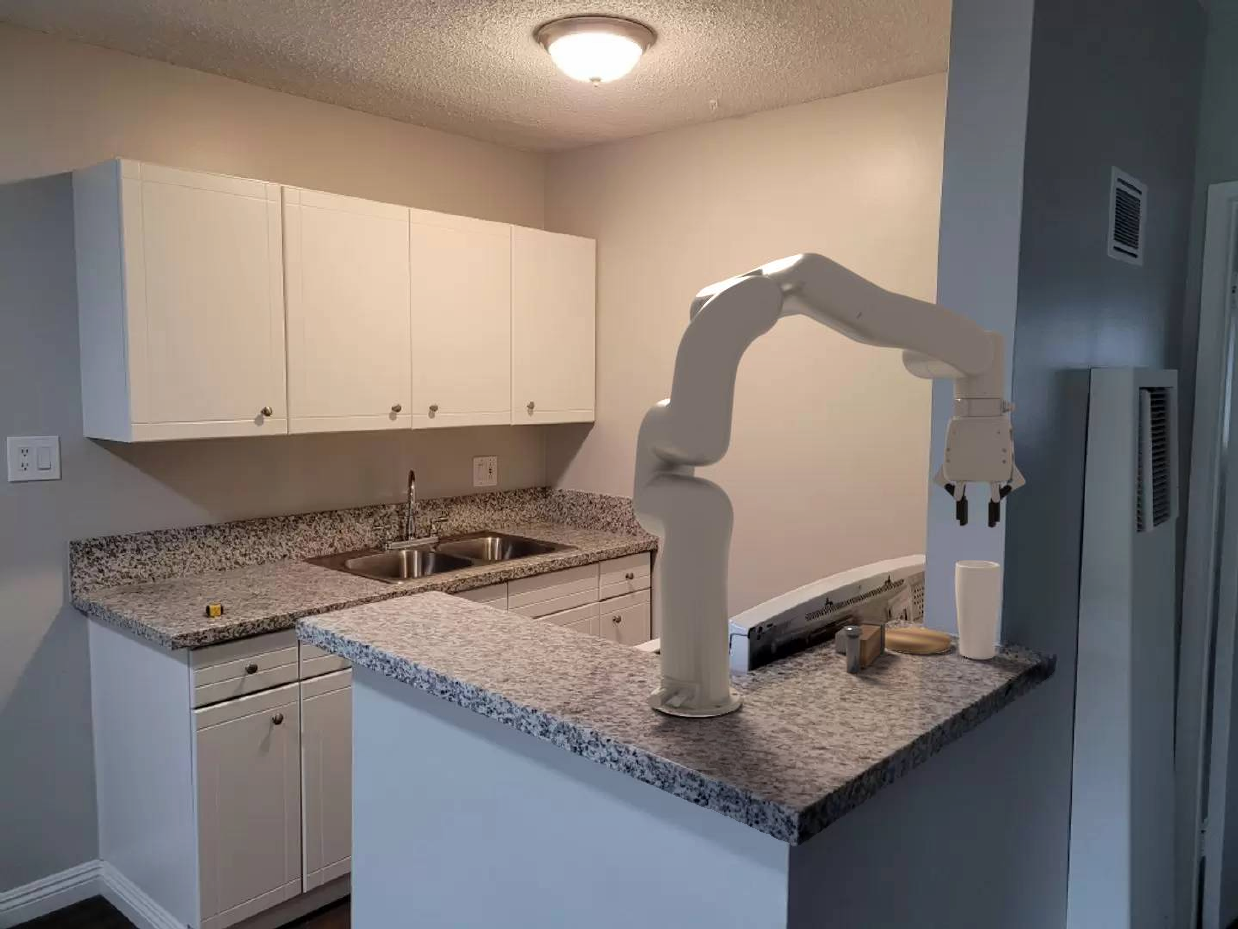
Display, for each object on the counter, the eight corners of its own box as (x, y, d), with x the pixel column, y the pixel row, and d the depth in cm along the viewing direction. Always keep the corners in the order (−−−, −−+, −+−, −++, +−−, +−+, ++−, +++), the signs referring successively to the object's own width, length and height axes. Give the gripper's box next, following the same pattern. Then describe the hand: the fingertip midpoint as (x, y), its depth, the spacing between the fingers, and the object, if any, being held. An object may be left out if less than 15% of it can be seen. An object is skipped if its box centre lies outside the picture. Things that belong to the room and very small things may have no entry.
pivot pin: (859, 675, 135) (859, 631, 135) (841, 672, 137) (841, 629, 136) (864, 670, 137) (864, 627, 137) (847, 667, 139) (846, 624, 138)
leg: (885, 649, 148) (885, 622, 147) (867, 668, 138) (867, 639, 138) (864, 647, 149) (864, 620, 149) (845, 665, 140) (845, 636, 139)
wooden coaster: (943, 657, 143) (943, 648, 143) (874, 649, 149) (874, 640, 149) (956, 641, 152) (956, 632, 152) (891, 633, 158) (891, 625, 158)
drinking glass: (992, 650, 147) (992, 559, 146) (1005, 662, 140) (1006, 567, 139) (949, 650, 147) (950, 560, 146) (961, 662, 141) (961, 568, 140)
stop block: (849, 653, 146) (849, 635, 146) (835, 651, 148) (835, 634, 147) (856, 647, 150) (856, 630, 150) (842, 645, 151) (842, 628, 151)
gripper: (1039, 409, 140) (1038, 525, 141) (929, 410, 148) (929, 520, 150) (1033, 410, 133) (1032, 532, 135) (918, 411, 142) (918, 526, 143)
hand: (977, 524), depth 142 cm, fingers open, 3 cm apart
